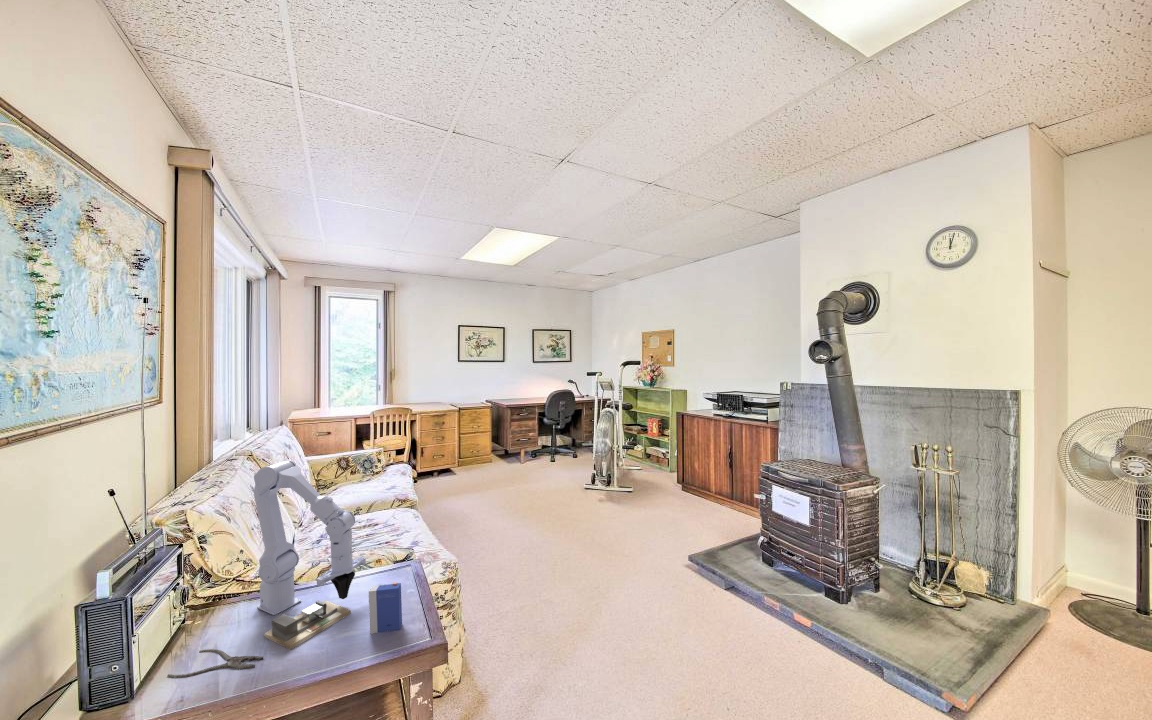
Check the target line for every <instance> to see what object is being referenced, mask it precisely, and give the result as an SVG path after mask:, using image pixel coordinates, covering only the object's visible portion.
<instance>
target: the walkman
mask: <svg viewBox="0 0 1152 720" xmlns="http://www.w3.org/2000/svg"><path fill="white" fill-rule="evenodd" d="M402 605H403V603H402V583H400V582H399V583H398V582H392V583H391V584H380V585H373V586H371V588H369V590H368V612H369V613H368V615H369V634H378V633H385V632H393V631H400V630H401V627H402V626H403V613H402V612H403V611H402V610H403V608H402Z"/></svg>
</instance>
